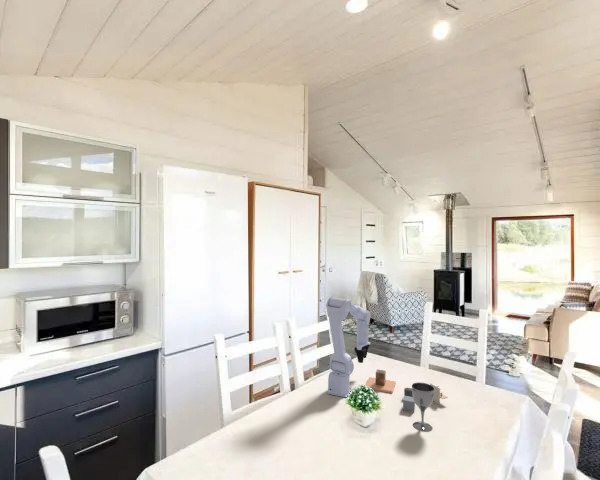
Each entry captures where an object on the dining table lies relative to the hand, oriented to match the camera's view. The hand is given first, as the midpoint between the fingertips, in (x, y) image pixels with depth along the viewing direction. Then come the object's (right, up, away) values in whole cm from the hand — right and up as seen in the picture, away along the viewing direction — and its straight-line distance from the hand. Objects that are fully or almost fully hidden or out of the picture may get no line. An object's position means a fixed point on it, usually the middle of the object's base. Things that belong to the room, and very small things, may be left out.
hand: (362, 360), depth 174 cm
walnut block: (+7, -9, -9) cm, 14 cm away
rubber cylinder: (+17, -10, -21) cm, 29 cm away
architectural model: (+28, -10, -24) cm, 38 cm away
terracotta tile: (+7, -10, -9) cm, 15 cm away
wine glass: (+15, -10, -44) cm, 48 cm away
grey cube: (+14, -10, -31) cm, 35 cm away
